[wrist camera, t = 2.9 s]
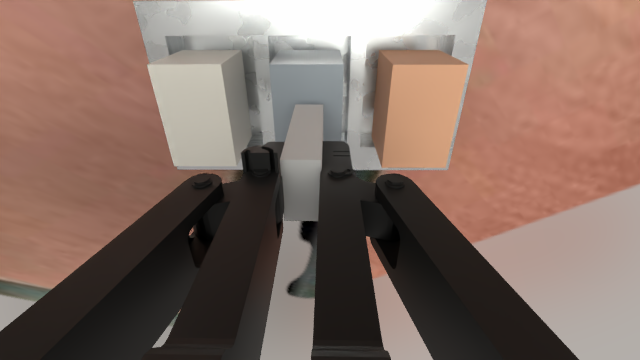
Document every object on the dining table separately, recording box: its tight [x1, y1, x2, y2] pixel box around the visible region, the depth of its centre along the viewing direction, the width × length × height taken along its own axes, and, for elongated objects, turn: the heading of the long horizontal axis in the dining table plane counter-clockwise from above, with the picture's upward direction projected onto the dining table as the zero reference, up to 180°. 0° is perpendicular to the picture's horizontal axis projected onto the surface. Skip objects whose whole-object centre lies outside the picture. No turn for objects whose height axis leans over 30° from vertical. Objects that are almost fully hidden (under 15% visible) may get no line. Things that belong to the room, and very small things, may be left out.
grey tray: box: [133, 0, 487, 170], centre depth 24 cm, size 22×12×4 cm, turn 90°
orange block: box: [372, 50, 469, 168], centre depth 21 cm, size 4×6×5 cm, turn 0°
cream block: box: [147, 50, 252, 166], centre depth 21 cm, size 4×6×5 cm, turn 0°
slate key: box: [269, 50, 344, 142], centre depth 21 cm, size 4×6×5 cm, turn 0°
